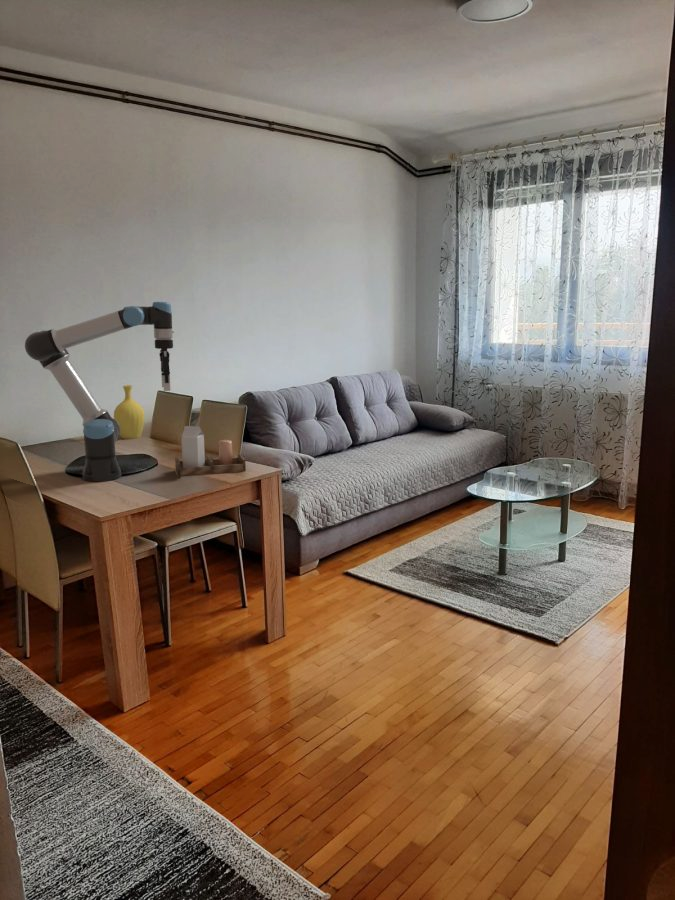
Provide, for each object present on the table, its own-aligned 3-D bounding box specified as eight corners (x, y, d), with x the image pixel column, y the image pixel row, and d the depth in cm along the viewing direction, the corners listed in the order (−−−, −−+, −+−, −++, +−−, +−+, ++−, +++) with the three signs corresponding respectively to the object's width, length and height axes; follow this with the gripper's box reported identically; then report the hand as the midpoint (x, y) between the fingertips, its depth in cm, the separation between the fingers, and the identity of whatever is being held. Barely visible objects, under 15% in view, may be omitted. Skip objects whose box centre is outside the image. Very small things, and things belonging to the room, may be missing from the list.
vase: (127, 433, 371) (124, 383, 365) (151, 435, 366) (149, 384, 360) (108, 438, 356) (105, 386, 350) (134, 440, 351) (131, 388, 345)
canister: (220, 470, 282) (219, 442, 279) (218, 467, 287) (217, 440, 284) (233, 469, 283) (232, 442, 281) (231, 466, 288) (230, 439, 286)
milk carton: (198, 472, 277) (196, 428, 273) (182, 472, 278) (180, 427, 274) (205, 469, 284) (203, 425, 280) (189, 468, 285) (187, 424, 281)
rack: (178, 478, 273) (177, 463, 271) (175, 470, 286) (175, 456, 284) (245, 473, 281) (245, 459, 280) (240, 466, 294) (239, 452, 293)
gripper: (174, 340, 269) (177, 392, 274) (170, 337, 293) (173, 385, 297) (155, 340, 267) (158, 392, 272) (153, 337, 291) (155, 386, 295)
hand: (166, 389), depth 284 cm, fingers open, 13 cm apart
